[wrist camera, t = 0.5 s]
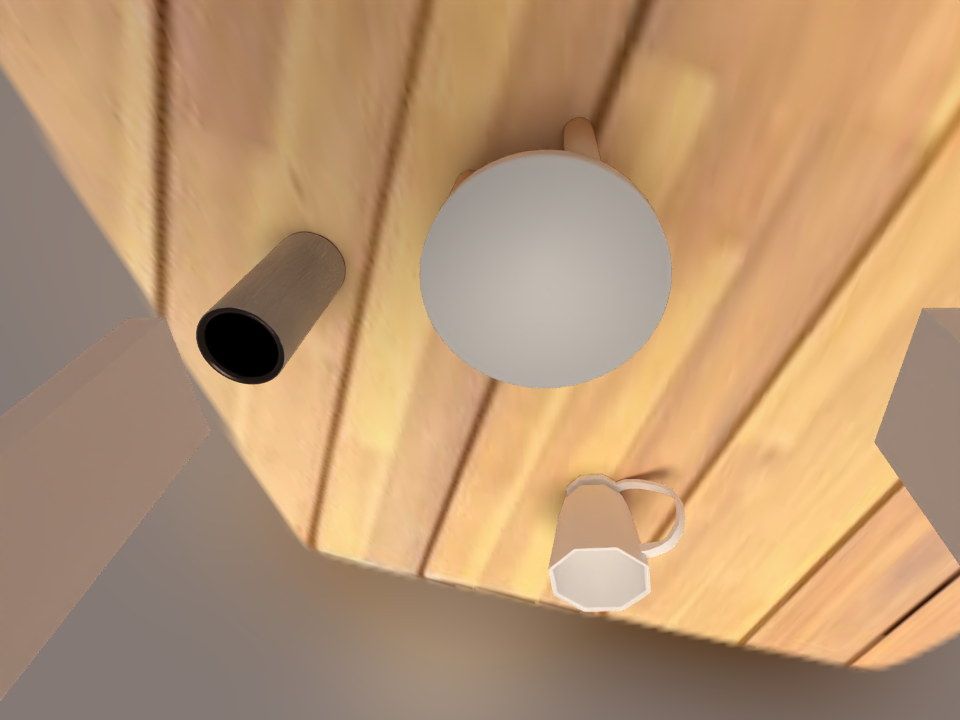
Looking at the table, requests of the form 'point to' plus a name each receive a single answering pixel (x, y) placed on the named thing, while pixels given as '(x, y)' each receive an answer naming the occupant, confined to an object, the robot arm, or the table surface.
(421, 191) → the table surface
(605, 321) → the stool
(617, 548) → the cup
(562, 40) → the table surface
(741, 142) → the table surface
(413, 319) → the table surface
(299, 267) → the grey tube
